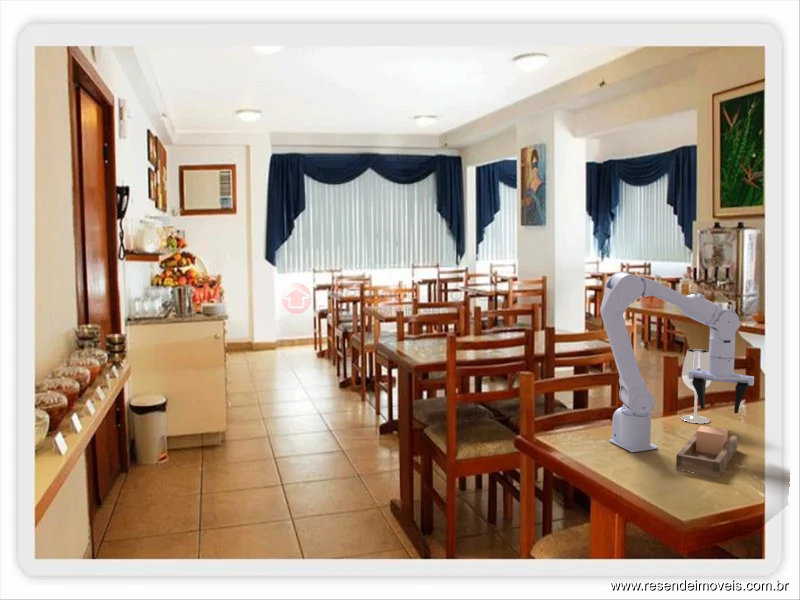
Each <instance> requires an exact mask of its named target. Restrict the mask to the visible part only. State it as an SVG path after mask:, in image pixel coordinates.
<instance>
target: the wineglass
mask: <svg viewBox="0 0 800 600" xmlns="http://www.w3.org/2000/svg"><path fill="white" fill-rule="evenodd" d="M708 365H709V350H707V349H700V348H689V349H687V350H686V354H685V357H684V361H683V365H682V371H681V378H682V381H683V383H684V385H686V387H687V388H689V389H690V390H692V391H693V393H694V394H693V395H694V408H693V409H694V410H693V414H687V415H682V416H681V417H680V420H682V421H683V420H684V421H683V422H685V421H687V422H686V423H689V422H690V423H689V424H695V423H698V424H699V425H704V423H705V424H709V423H710V422H711V420H710V419H709V418H708V417H706V416H702V415H699V414H698V399H699V398H698V395H697V392H696V390H695V388H694V386H693V383H692V382H693V379H689V371H690V370H697V371H708ZM711 383H712V381H710V380H706V386H705V389H706V388H708V387H709V386H710V384H711ZM698 424H697V425H698Z"/></svg>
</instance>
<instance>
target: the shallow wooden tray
mask: <svg viewBox="0 0 800 600" xmlns="http://www.w3.org/2000/svg"><path fill="white" fill-rule="evenodd" d="M696 433H697V431H696V432H695V434H694V435H692V436H691V438H690V439H689V440H688V441H687V442H686V444H685V445H684V446H683V447H682V448H681V449H680V450H679V451H678V453H677V454H676V459H675V461H676V462H675V470H676V469H677V470H676V471H679V470H684V471H683V472H685V471H689V472H688V473H690V472H694V473H693V474H695V473H697V474H696V475H700V474H701V475H700V476H706V477H711V478H717V479H719V478H720V477H721V475H722V474H723V472H724V471H725V469H726V468H727V466H728V464H729V463H730V462H731V460H732V458H733V457H734V455H735V453H736V452H737V450H738V435H731V436H730V438H729V439H728V440H727V443H726V445H725V446H724V448H723V449H722V450H721V452H720V453H719V455H717V454H711V453H705V452H700V451H696Z"/></svg>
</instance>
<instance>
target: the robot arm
mask: <svg viewBox="0 0 800 600" xmlns="http://www.w3.org/2000/svg"><path fill="white" fill-rule="evenodd" d="M640 297H644V298H647V297H656V298H657V299H659V300H662V301H665V302H667V303H670V304H671V305H674V306H677V307H678V308H679V309H680V312H681V314H682V315H683V316H685V317H688V318H690V319H691V320H693V321H696V322H698V323H701V324H703V325H704V326H708V328H709V345H708V346H709V348H708V351H709V365H708V371H697V370H690V371H689V379H693V382H692V383H693V386H694V388H695V390H696V392H697V395H698V398H697V399H698V400H699V406H700V410H704V409H705V408H706V388H705V386H706V380H710V381H711V382H720V383H727V384H728V383H729V384H736V385H735V401H734V409H733V413H734V414H738V413H739V410H740V406H741V402H742V400H743V397H744V395H745V393H746V391H747V390H748V388H749V386H752V387H753V386H754V384H755V376H753V375H752V376H751V375H747V374H745V375H744V374H739V373H735V355H736V353H735V352H736V351H735V350H736V333H737V331H738V330H739V329H740V327H741V320H740V316H739V315H738V314H737V313H736V312H735V311H734V310H732V309H728V308H725V307H723V304H722V303H720V302H716V303H715V302H713V301H711V300H708V299H706V298H705V294H701V293H697V294H695V293H691V294H688V295H684V294H682V293H680V292H678V291H677V290H674V289H673V288H670V287H669V286H666V285H664V284H662V283H660V282H658V281H657V280H654V279H650V278H648V277H647V278H646V277H642V276H639V275H637V274H633V273H632V274H630V273H629V272H628V271H627V272H626V271H617V272H614V273H613V274H611V276H610V278H609V279H608V281H607V282H606V283H605V286H604V293H603V297H602V300H601V305H600V307H599V312H600V316H601V320H602V323H603V326H604V329H605V332H606V336H607V338H608V342H609V343H608V344H609V346H610V349H611V352H612V355H613V359H614V362H615V365H616V368H617V371H618V376H619V378H618V382H619V387H620V389H619V393H618V395H619V399H620V401H621V402H622V403H623V404H622V406H621V407H619V408H617V409H616V410H615V411H614V413H613V415H612V423H611V425H612V427H611V428H612V429H611V430H612V431H611V438H610V439H608V441H609V442H610V443H612V444H614V445H616V446H618V447H620V448H622V449H624V450H626V451H629V452H630V453H638V452H644V451H646V452H647V451H651V450H658V449H659V446H658V445H655V444H653V443H652V442H651V440H652V439H651V438H652V437H651V436H652V435H651V434H652V433H651V432H652V431H651V430H652V411H653V409H654V408H655V405H656V404H655V403H656V402H655V398H654V395H653V394H652V393H651V392H650V391H649V389H648V387H647V384H646V382H645V380H644V379H643V377H642V374H641V372H640V368H639V365H638V362H637V358H636V354H635V351H634V348H633V345H632V342H631V340H630V339H631V338H630V335H629V331H628V328H627V325H626V322H625V319H624V313H625V312H626V311H627V309H628V308H629V307H630V305H632V304H633V303H634V302H636V301H637V300H638V299H640Z"/></svg>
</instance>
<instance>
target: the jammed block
mask: <svg viewBox="0 0 800 600" xmlns="http://www.w3.org/2000/svg"><path fill="white" fill-rule="evenodd" d="M728 431H729V430H728V429H726V428H719V427H715V426H714V427H713V426H706V425H700V426H699V427H698V429H697V430H696V432H697V433H696V432H695V433H696V451H700V452H705V453H711V454H717V455H719V453H720V452H721V450H722V449H723V448H724V446H725V445H726V443H727V442H728V435H729V434H728Z"/></svg>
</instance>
